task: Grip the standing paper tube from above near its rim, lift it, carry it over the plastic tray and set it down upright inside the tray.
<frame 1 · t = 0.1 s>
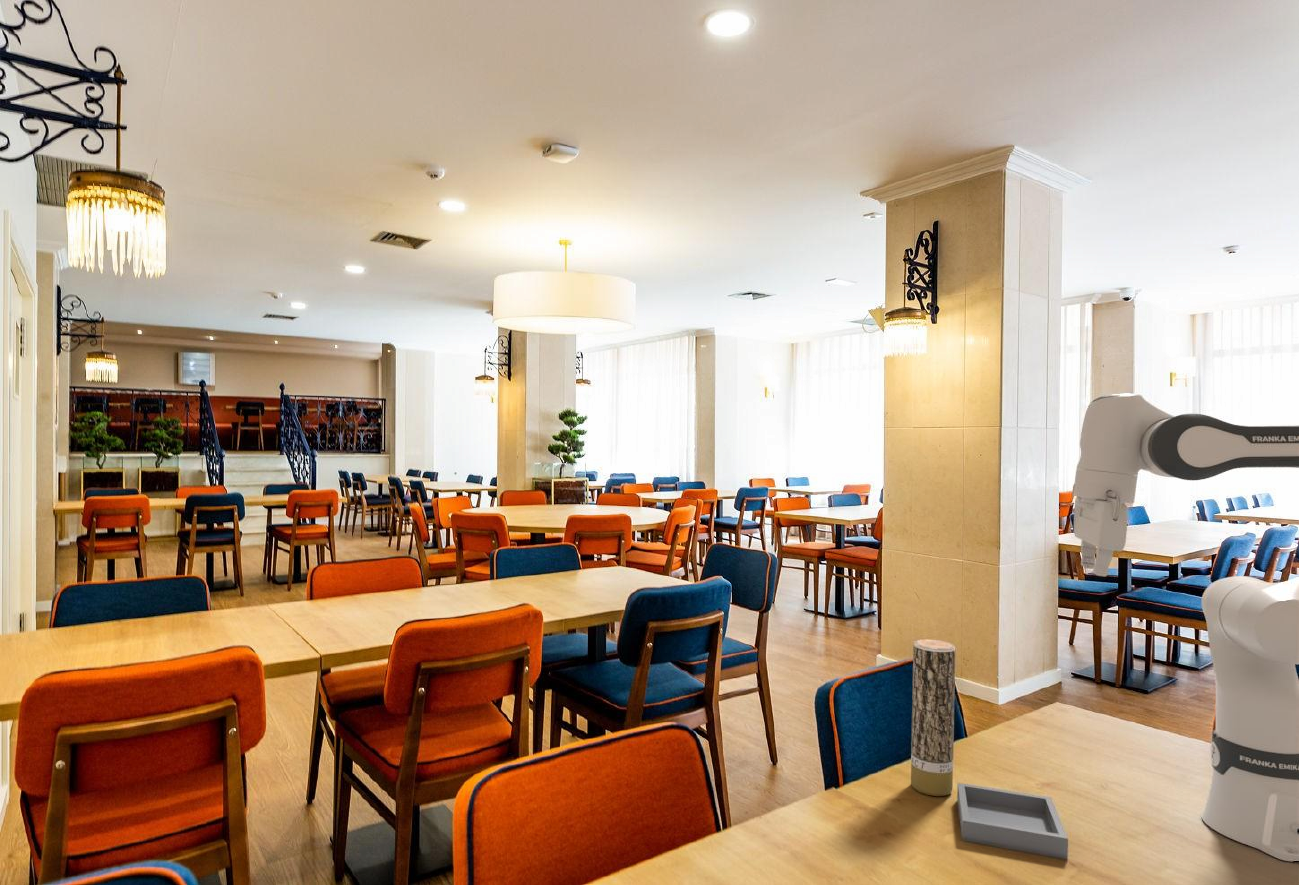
hand: (1093, 571, 126), 39 cm above the table, tool pointing down, fingers open, 8 cm apart
tray: (1008, 827, 117), on the table
paper tube: (931, 790, 130), on the table
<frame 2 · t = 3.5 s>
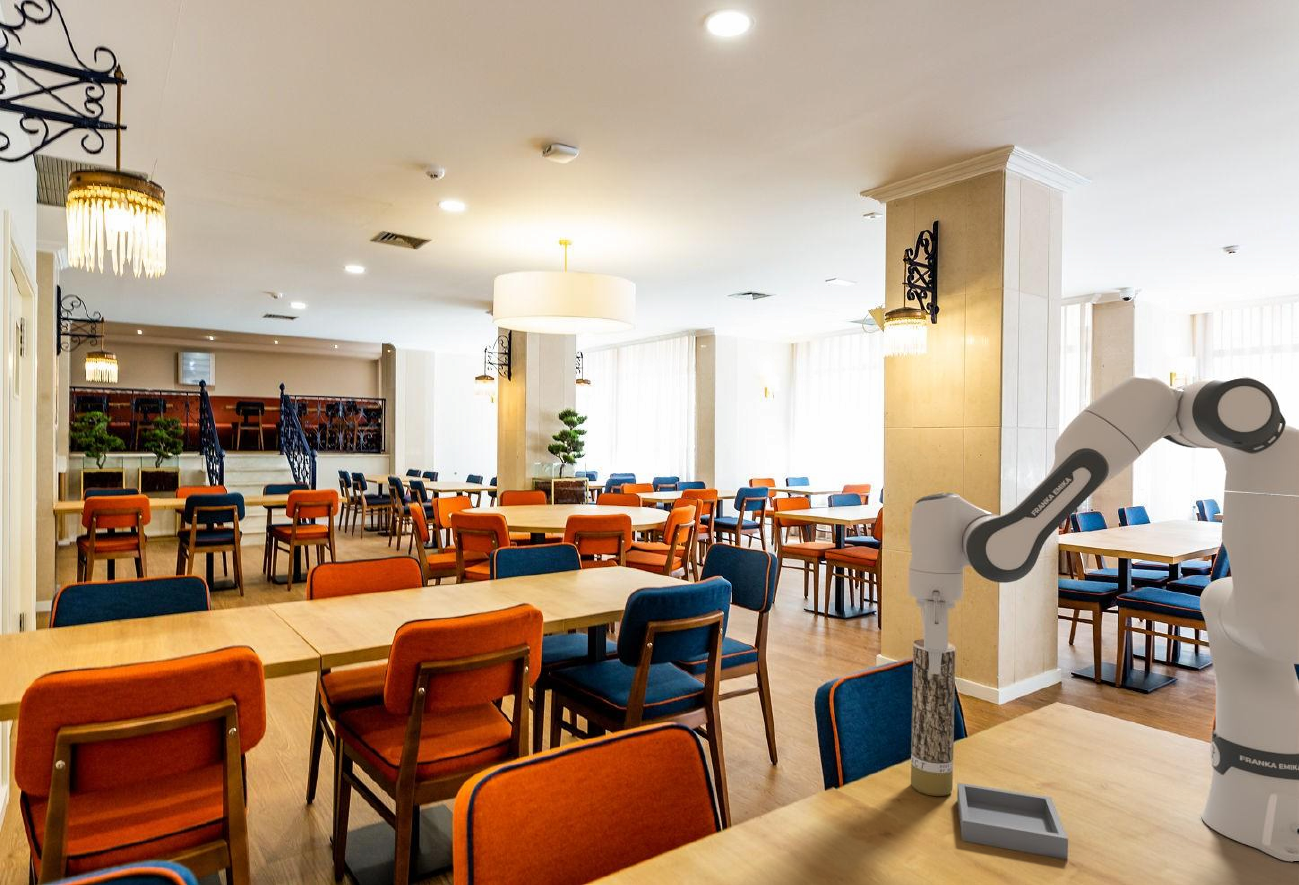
hand: (933, 666, 130), 21 cm above the table, tool pointing down, fingers closed on paper tube, 7 cm apart
paper tube: (931, 790, 130), on the table, touching gripper
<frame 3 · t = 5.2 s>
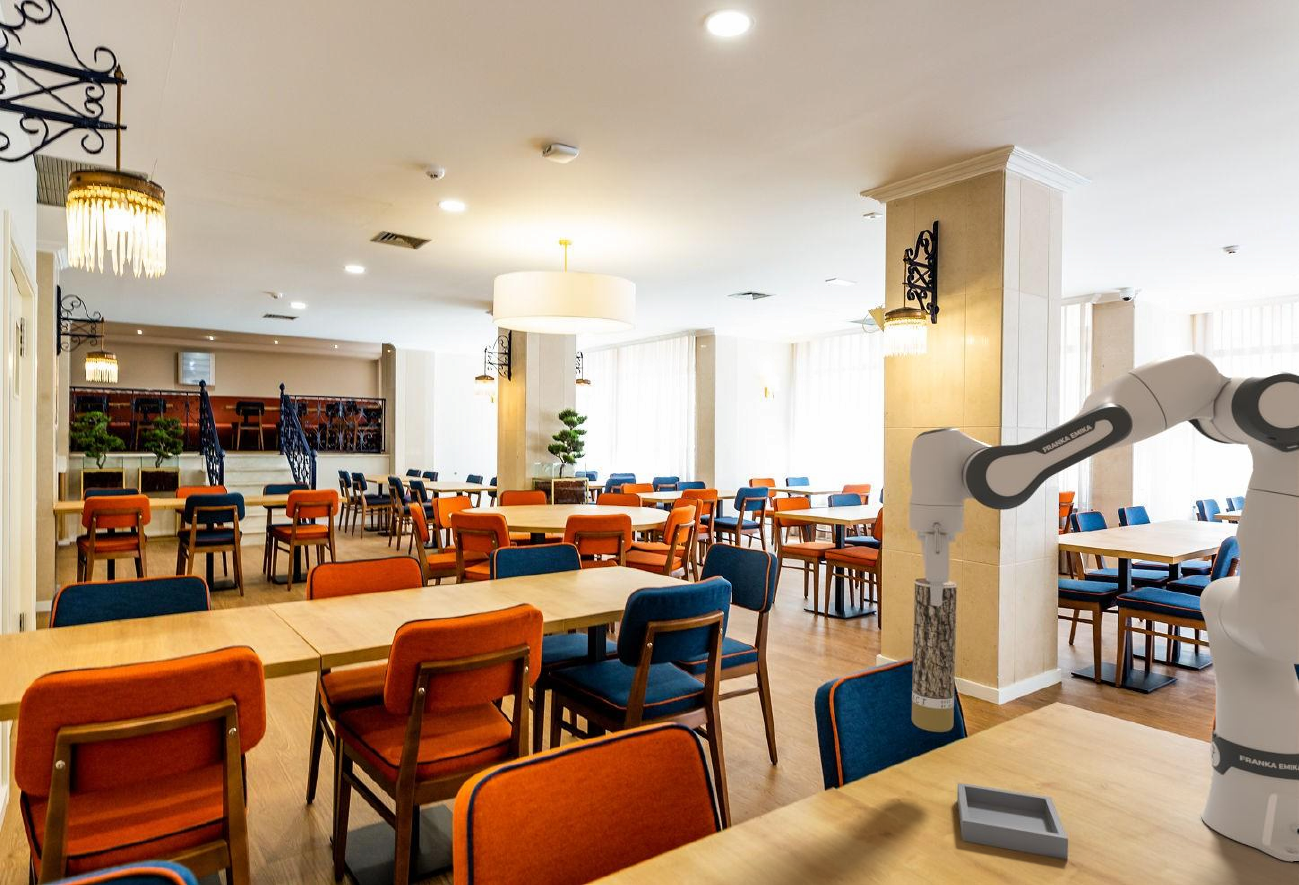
hand: (935, 600, 130), 32 cm above the table, tool pointing down, fingers closed on paper tube, 7 cm apart
paper tube: (932, 727, 130), point 11 cm above the table, touching gripper
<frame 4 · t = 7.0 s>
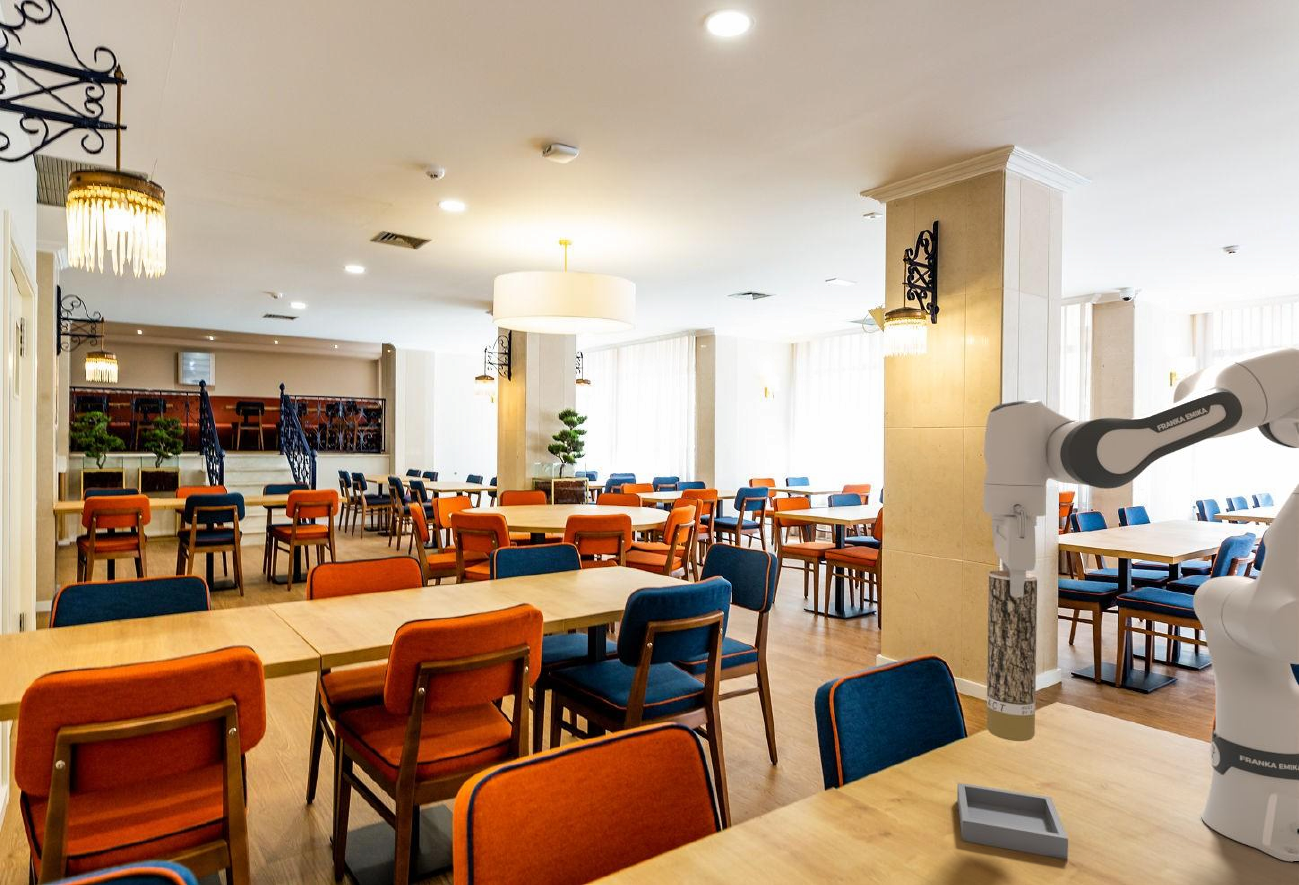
hand: (1012, 591, 117), 37 cm above the table, tool pointing down, fingers closed on paper tube, 7 cm apart
paper tube: (1010, 735, 117), point 14 cm above the table, touching gripper
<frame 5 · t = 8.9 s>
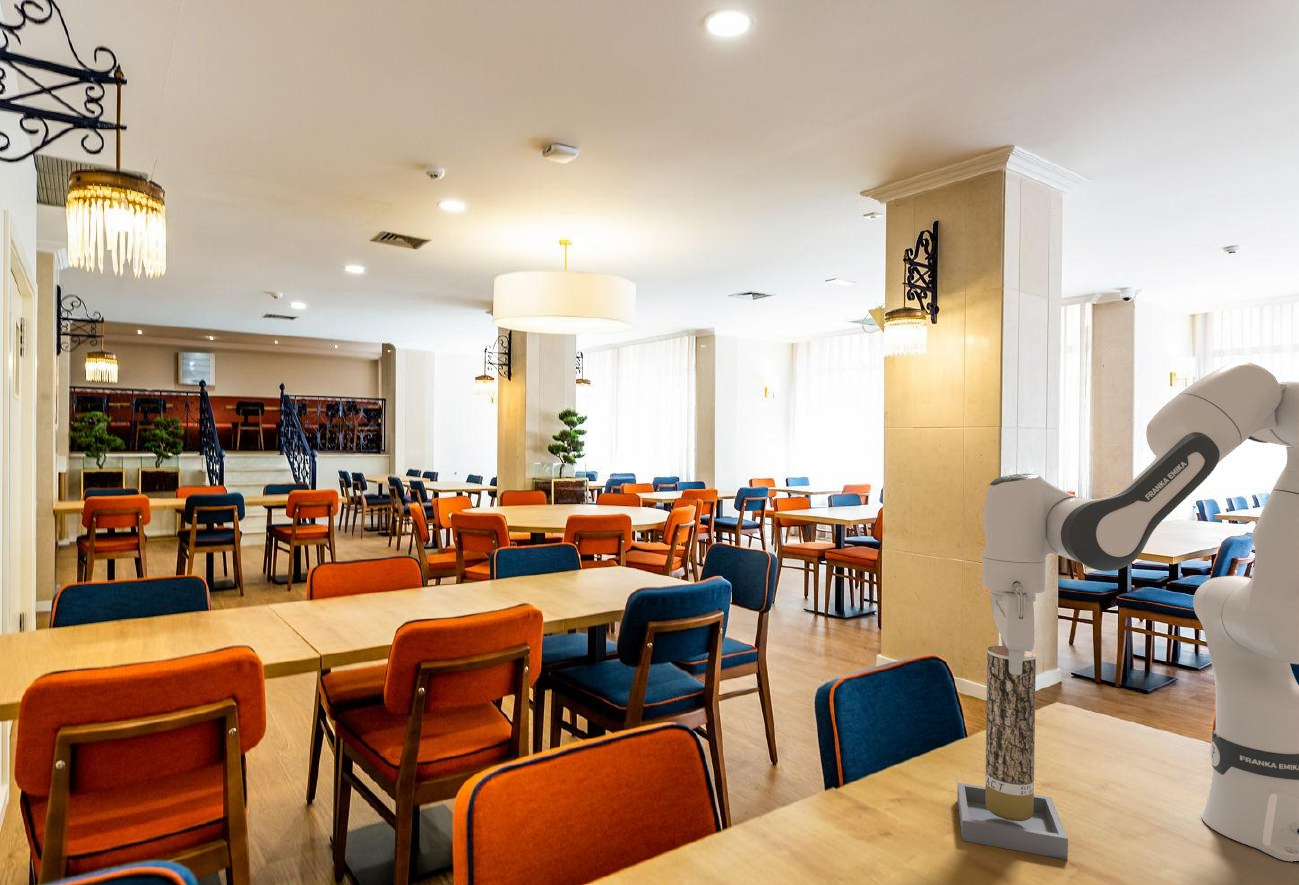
hand: (1011, 666, 117), 25 cm above the table, tool pointing down, fingers closed on paper tube, 7 cm apart
paper tube: (1008, 813, 117), point 2 cm above the table, touching gripper
when the fingers open (23 cm above the table, at t = 10.4 s): paper tube stays where it is, resting on tray.
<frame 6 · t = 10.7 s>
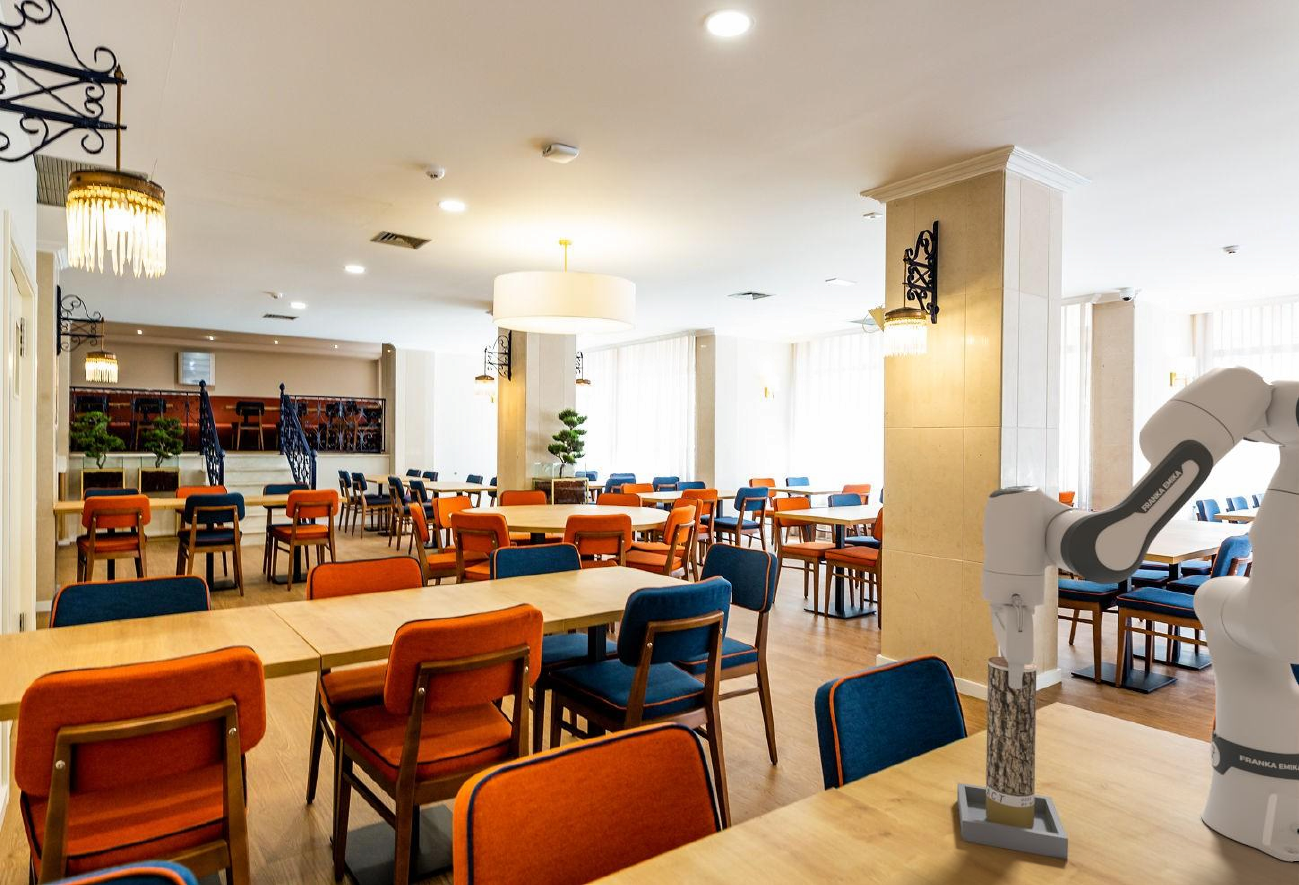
hand: (1010, 678, 117), 23 cm above the table, tool pointing down, fingers open, 8 cm apart
paper tube: (1009, 825, 117), resting on tray
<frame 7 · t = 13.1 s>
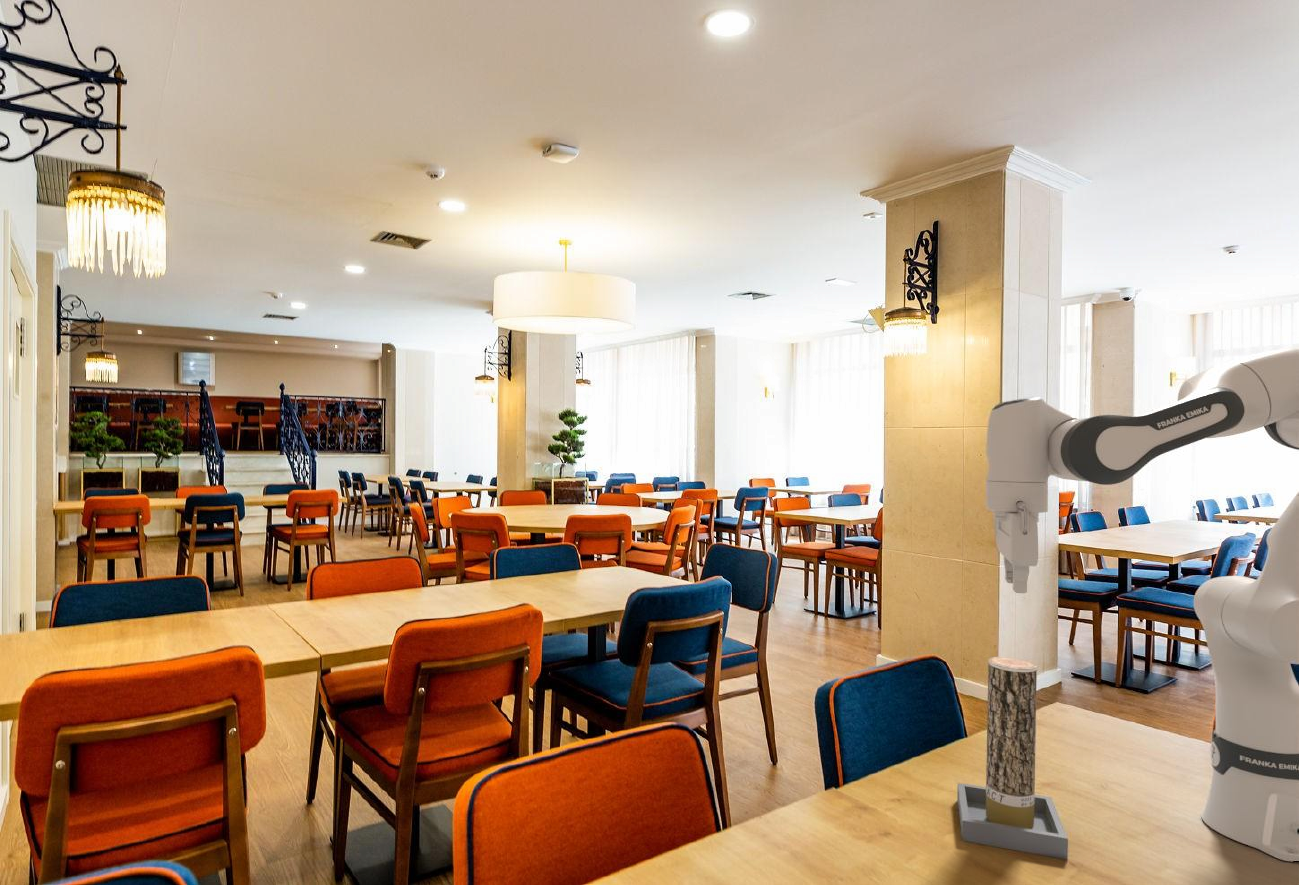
hand: (1015, 587, 119), 37 cm above the table, tool pointing down, fingers open, 8 cm apart
nothing on the table moved.
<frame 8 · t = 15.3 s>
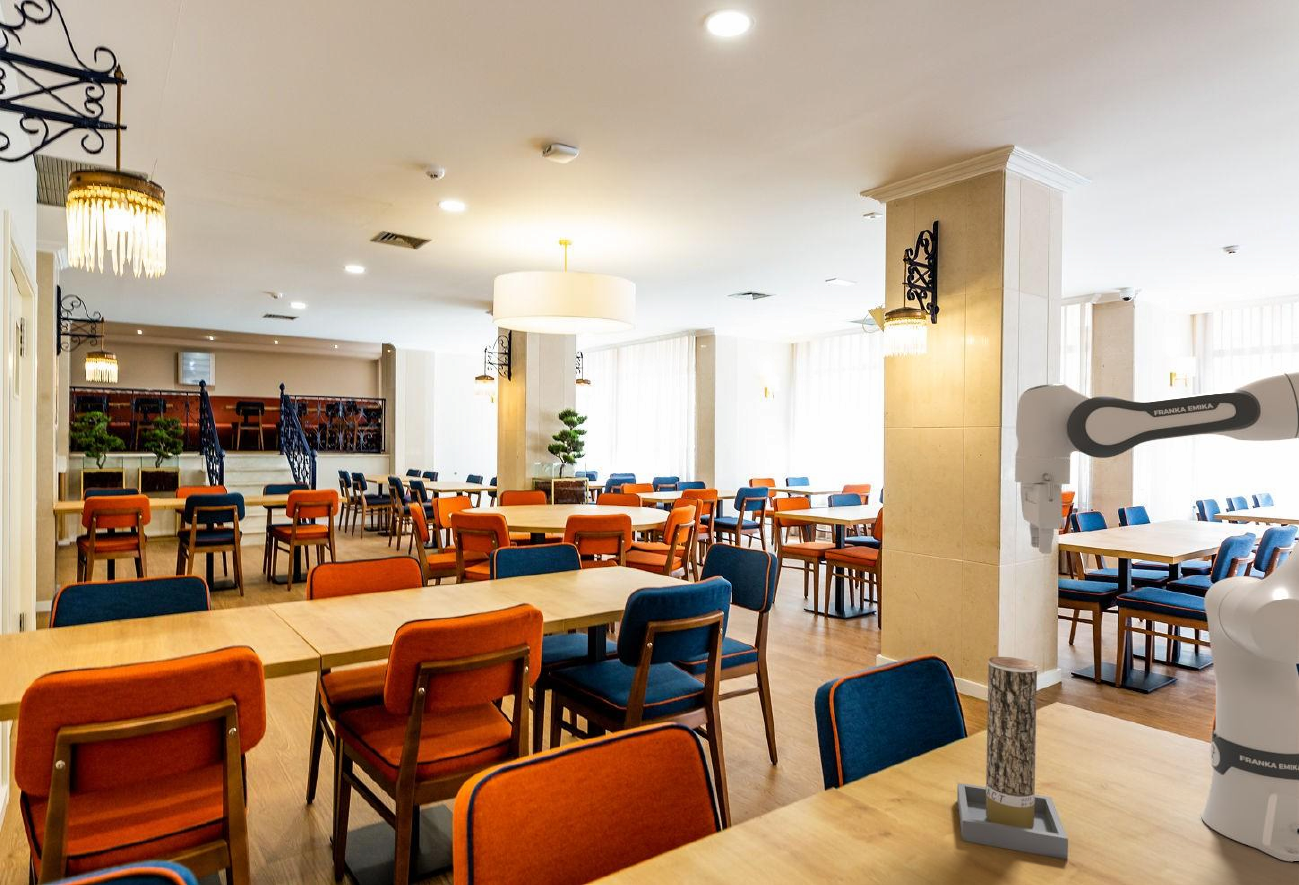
hand: (1040, 550, 136), 41 cm above the table, tool pointing down, fingers open, 8 cm apart
nothing on the table moved.
at the end: paper tube inside the target area on the tray (0.2 cm from its centre), point 0.4 cm above the tray's base; paper tube tilted 0°; the gripper is holding nothing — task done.
